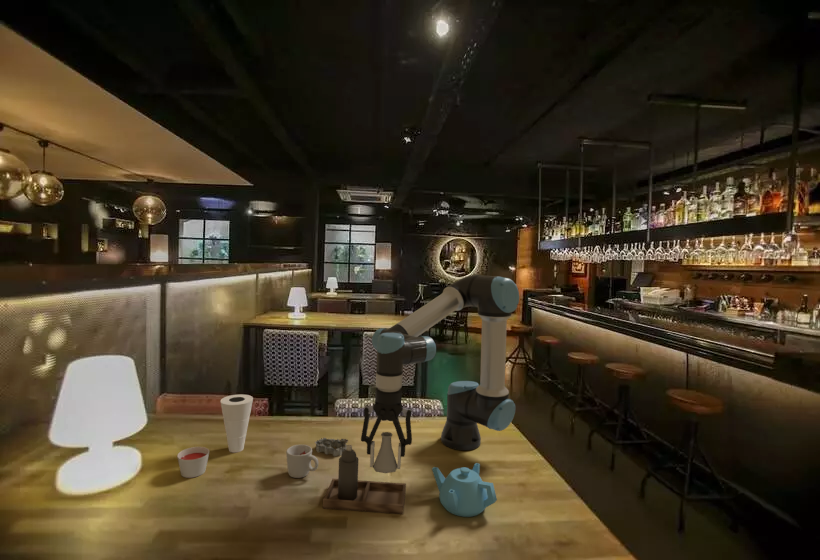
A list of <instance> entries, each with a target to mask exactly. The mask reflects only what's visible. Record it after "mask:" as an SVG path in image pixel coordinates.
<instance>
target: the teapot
mask: <svg viewBox="0 0 820 560" xmlns="http://www.w3.org/2000/svg"><path fill="white" fill-rule="evenodd" d="M480 469H481V464H480V463H479V462H476V463H474V465H473V467H472V468H471V469H470V468H469V467H464V466H463V467H458V468H454V469H453V470H451V471H450V473H449V474H448V475H446V477H445V476H444V474H443V473H442V472H441V470H440V469H439V467H435V466H433V467H432V468H431V471H432V473H433V476H434V477H433V478H434V479H435V482H436V486H437V489H438V492H439V496H438V497H439V501H440V503H441V505H442V506H443V508H444V509H445V510H446V511H447V512H449V513H450V514H452V515H454V516H457V517H461V518H462V517H464V518H470V517H476V516H478V515H480V514H481V513H483V512H484V510H485V509H486V508H487V507H489V506H490V507H491V506H492V505H493V504H495V503H496V502H497V501H498V498H497V493H496V489H495V487H494V482H489V481H483V479H482V478H481V476H480V471H481V470H480Z"/></svg>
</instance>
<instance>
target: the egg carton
mask: <svg viewBox="0 0 820 560" xmlns="http://www.w3.org/2000/svg"><path fill="white" fill-rule="evenodd" d="M348 442H349V440H348V439H347V438H341V439H338V438H337V439H335V438H327V437H323V438H319V439H318V440H317V441H314V443H315V450H316V452H317V453H324V455H332V456H333V457H338V456H339V457H341V455H342V453H343V451H344V450H346V446H347V445H348Z"/></svg>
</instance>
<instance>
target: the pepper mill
mask: <svg viewBox="0 0 820 560" xmlns="http://www.w3.org/2000/svg"><path fill="white" fill-rule="evenodd" d="M346 445H347V446H346V450H344V451H343V452H342V455H341V456H339V458H338V478H337V479H338V499H339V500H351V501H353V500H355V499H356V498H357V488H358V480H359V457H358V456H357V453H356V451H355V450H354V449H353V445H352V444H346Z"/></svg>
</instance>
